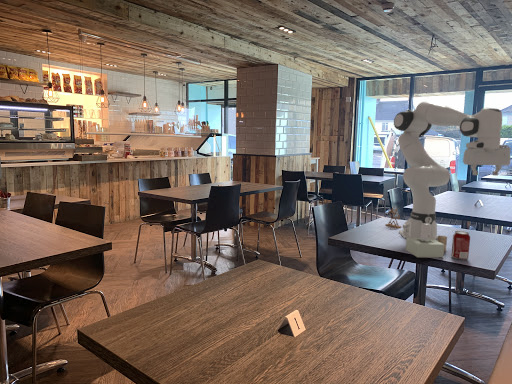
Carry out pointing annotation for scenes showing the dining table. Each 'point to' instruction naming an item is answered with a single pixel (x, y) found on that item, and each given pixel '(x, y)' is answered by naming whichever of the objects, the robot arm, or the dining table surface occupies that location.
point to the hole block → (424, 248)
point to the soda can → (460, 245)
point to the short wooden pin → (443, 241)
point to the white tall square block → (425, 233)
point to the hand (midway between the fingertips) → (485, 175)
